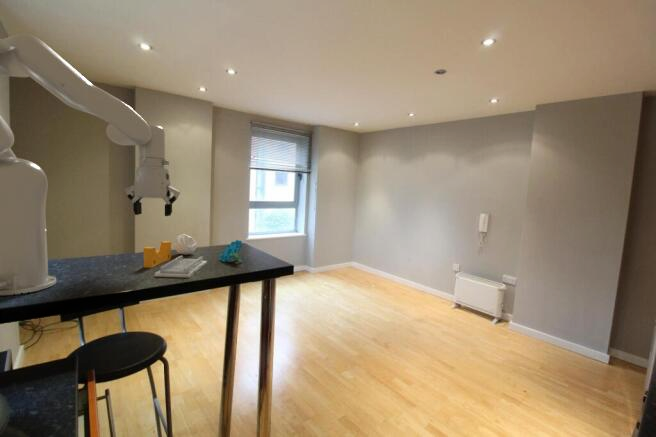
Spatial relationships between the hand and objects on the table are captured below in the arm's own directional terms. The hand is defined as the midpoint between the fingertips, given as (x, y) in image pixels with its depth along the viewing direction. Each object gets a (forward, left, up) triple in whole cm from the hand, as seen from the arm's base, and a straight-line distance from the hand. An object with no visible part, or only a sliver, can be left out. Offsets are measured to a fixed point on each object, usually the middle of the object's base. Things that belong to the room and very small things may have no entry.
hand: (153, 215), depth 102 cm
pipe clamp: (0, -1, -17) cm, 17 cm away
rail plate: (-7, -13, -16) cm, 22 cm away
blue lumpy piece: (+6, -25, -17) cm, 31 cm away
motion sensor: (+13, -6, -17) cm, 22 cm away
